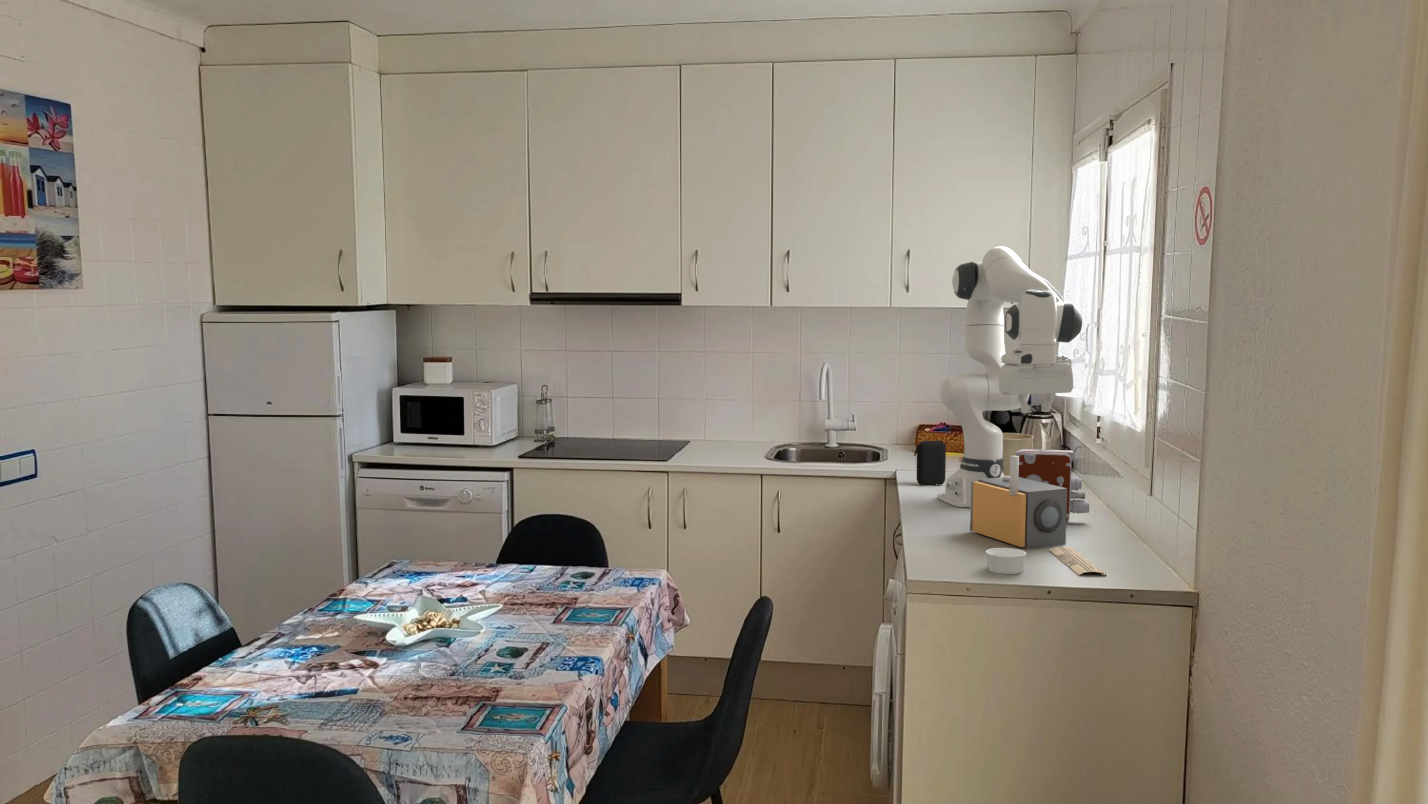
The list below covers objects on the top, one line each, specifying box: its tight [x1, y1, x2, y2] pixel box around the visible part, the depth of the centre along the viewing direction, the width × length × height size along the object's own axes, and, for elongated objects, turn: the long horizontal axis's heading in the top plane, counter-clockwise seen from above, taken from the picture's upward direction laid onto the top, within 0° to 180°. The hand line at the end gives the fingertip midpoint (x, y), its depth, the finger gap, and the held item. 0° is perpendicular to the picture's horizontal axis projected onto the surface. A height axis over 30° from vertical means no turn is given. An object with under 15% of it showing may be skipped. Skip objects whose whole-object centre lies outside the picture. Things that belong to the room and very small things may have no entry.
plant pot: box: [1002, 432, 1034, 476], centre depth 352 cm, size 15×15×16 cm
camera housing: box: [978, 476, 1067, 549], centre depth 273 cm, size 21×12×15 cm, turn 23°
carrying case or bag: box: [913, 440, 947, 486], centre depth 350 cm, size 11×3×15 cm, turn 99°
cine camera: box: [1016, 448, 1090, 525], centre depth 292 cm, size 9×19×20 cm, turn 78°
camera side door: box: [969, 456, 1026, 548], centre depth 270 cm, size 21×2×22 cm, turn 23°
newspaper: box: [1048, 546, 1107, 576], centre depth 248 cm, size 24×7×2 cm, turn 178°
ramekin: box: [985, 547, 1027, 575], centre depth 242 cm, size 9×9×4 cm
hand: (1035, 412), depth 263 cm, fingers open, 5 cm apart
